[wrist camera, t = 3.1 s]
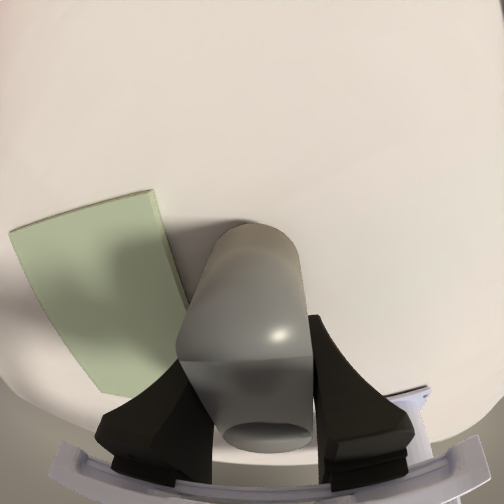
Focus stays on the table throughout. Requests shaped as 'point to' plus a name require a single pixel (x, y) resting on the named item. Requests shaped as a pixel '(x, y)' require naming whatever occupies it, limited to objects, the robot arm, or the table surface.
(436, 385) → the table surface
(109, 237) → the sage mat
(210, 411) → the cylinder
